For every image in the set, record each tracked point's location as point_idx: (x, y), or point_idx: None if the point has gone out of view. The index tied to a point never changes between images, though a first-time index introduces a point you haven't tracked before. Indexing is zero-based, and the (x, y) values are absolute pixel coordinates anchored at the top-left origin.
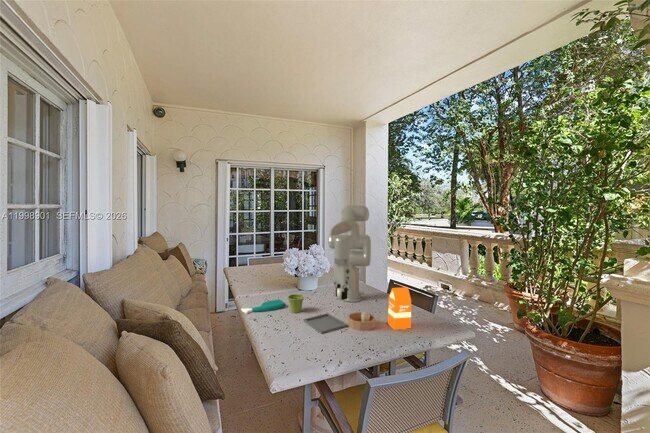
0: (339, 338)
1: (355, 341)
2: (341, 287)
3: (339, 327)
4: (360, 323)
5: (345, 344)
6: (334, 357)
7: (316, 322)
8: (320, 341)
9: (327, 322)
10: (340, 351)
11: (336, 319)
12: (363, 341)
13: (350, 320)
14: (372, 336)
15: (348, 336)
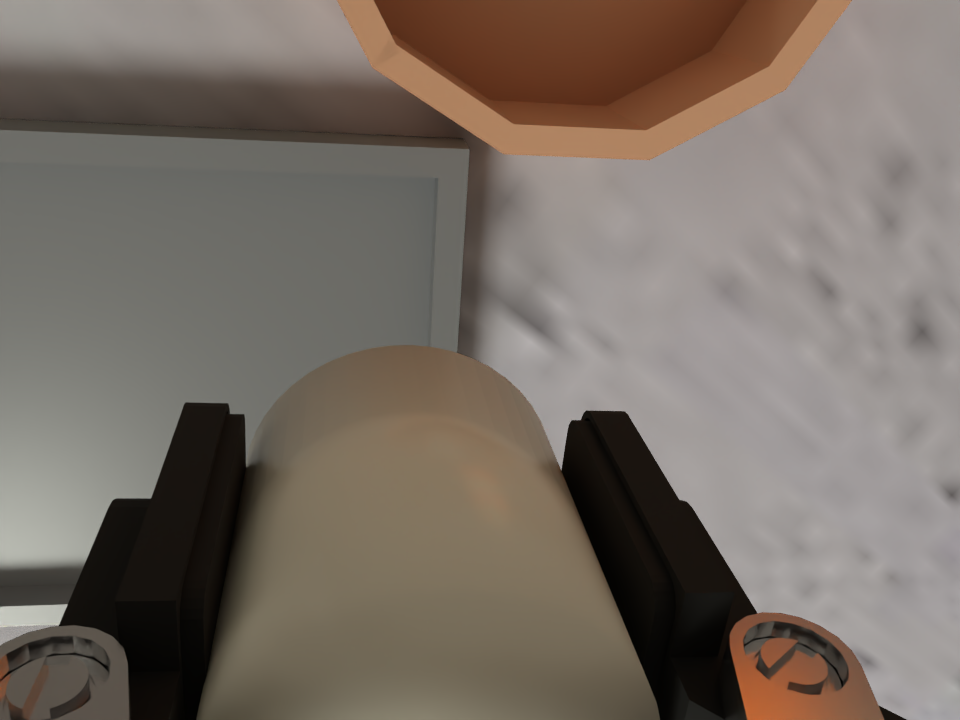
0: (661, 457)
1: (858, 343)
2: (239, 678)
3: (456, 315)
4: (778, 83)
5: (816, 484)
6: (899, 693)
7: (45, 475)
8: None
9: (136, 332)
10: (872, 602)
11: (150, 165)
12: (937, 257)
13: (552, 150)
14: (956, 28)
15: (702, 330)
